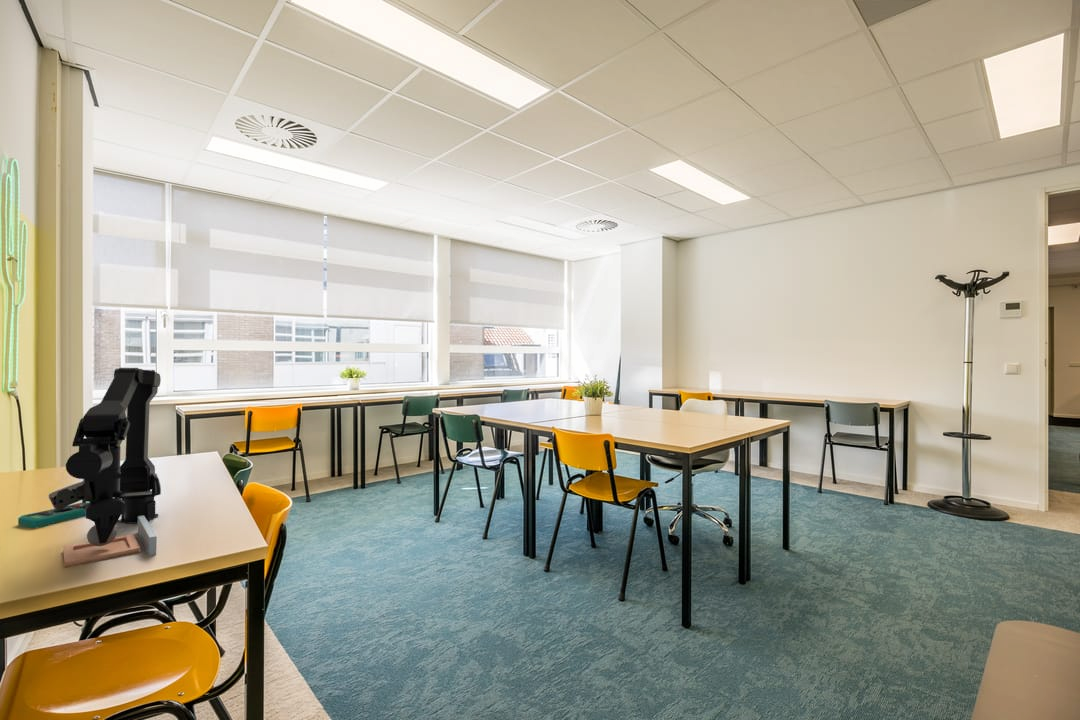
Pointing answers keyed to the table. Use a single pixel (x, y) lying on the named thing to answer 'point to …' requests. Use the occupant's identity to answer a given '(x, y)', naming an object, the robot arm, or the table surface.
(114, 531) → the rubber ball
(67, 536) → the table surface
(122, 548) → the pad
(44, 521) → the digital multimeter
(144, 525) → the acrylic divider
